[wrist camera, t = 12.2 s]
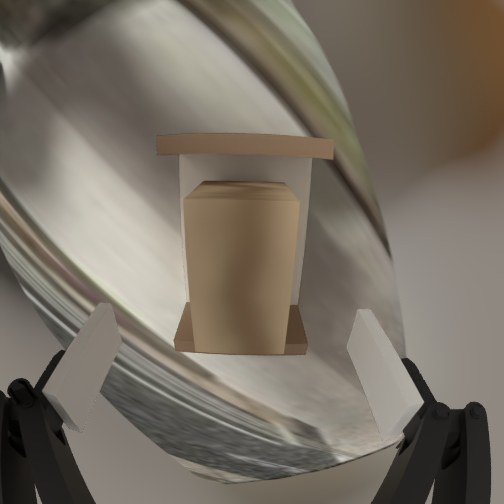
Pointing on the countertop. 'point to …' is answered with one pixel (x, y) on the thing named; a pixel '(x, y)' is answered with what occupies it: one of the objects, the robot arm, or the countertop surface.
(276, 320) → the shelf block
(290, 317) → the peg stand
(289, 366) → the countertop surface
